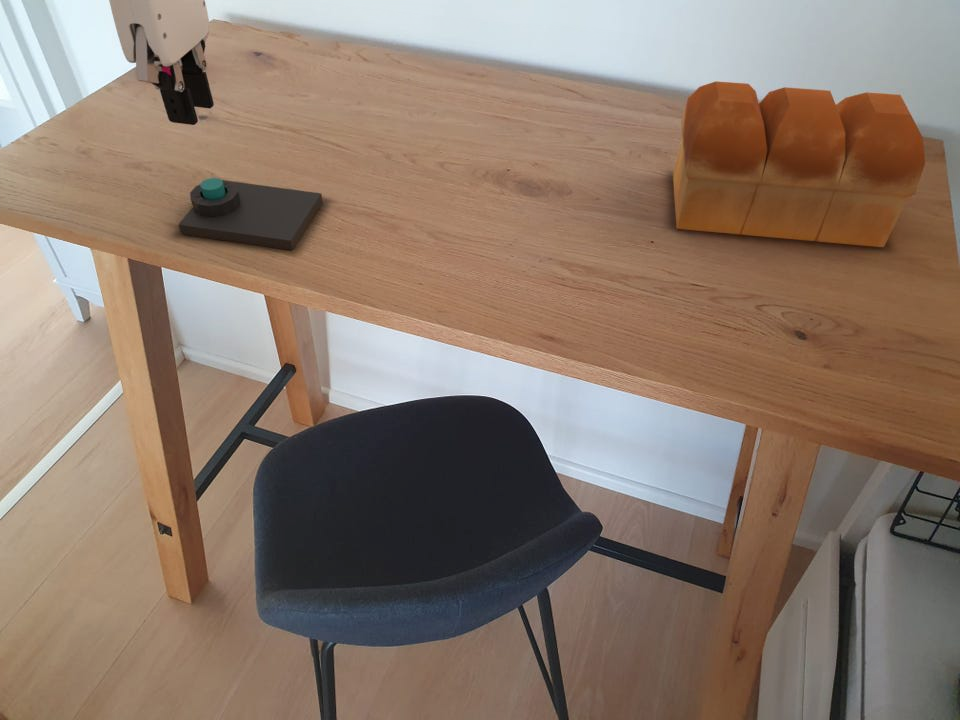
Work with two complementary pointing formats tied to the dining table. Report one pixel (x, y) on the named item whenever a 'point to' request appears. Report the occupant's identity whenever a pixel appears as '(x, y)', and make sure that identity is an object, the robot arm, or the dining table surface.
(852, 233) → the bread
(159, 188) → the dining table surface
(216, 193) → the button
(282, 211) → the dark button base
